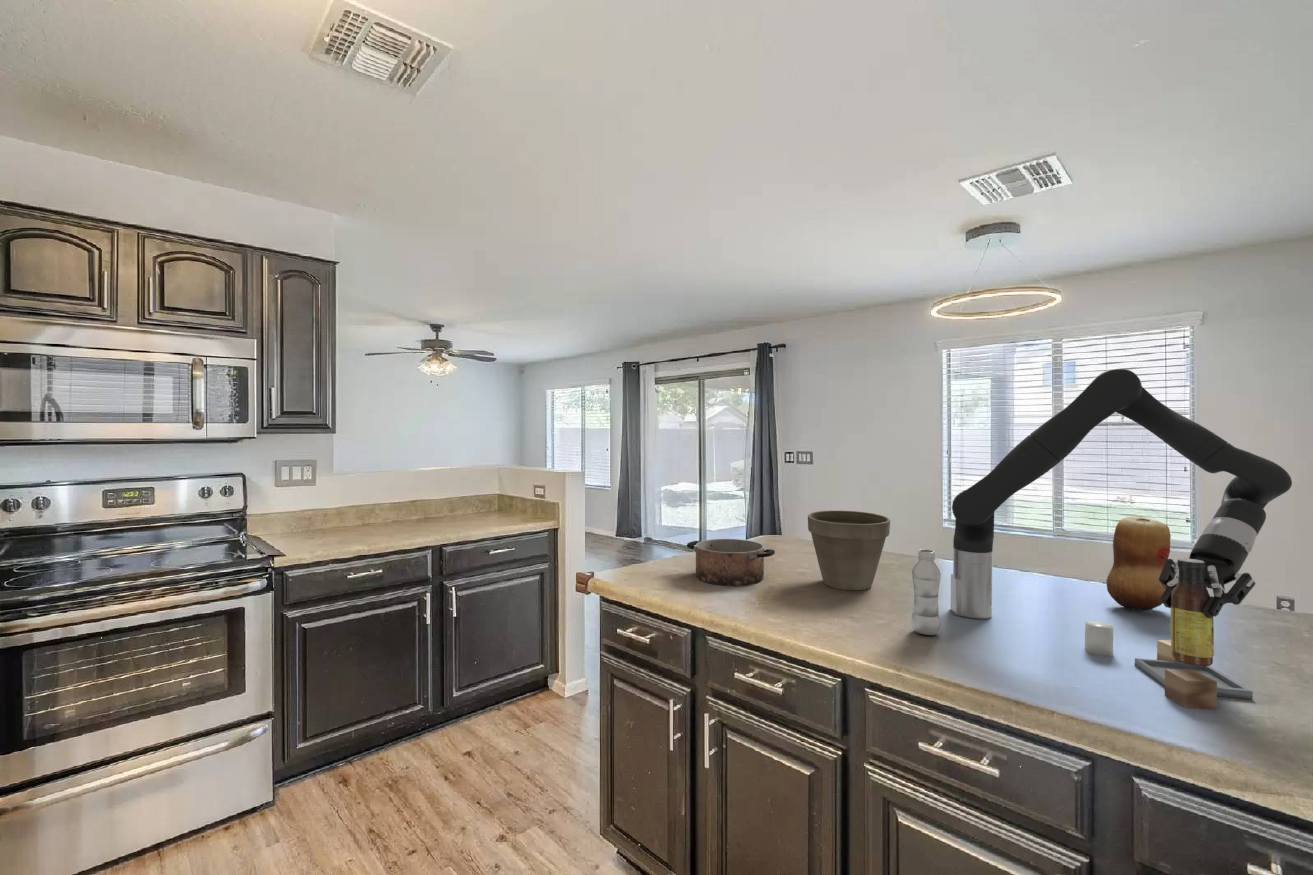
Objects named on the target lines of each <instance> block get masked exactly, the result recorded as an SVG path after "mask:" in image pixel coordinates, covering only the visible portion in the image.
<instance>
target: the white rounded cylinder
mask: <svg viewBox="0 0 1313 875" xmlns="http://www.w3.org/2000/svg"><path fill="white" fill-rule="evenodd" d="M1084 624H1085V625H1084V651H1085V650H1086V652H1087V653H1089V654H1092V655H1096V656H1100V657H1112V656H1113V655H1114V626H1113V625H1111V624H1109V623H1105V622H1101V621H1093V620H1092V621H1091V620H1088V621H1085V622H1084ZM1111 655H1112V656H1111Z"/></svg>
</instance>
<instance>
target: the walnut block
mask: <svg viewBox="0 0 1313 875" xmlns="http://www.w3.org/2000/svg"><path fill="white" fill-rule="evenodd" d="M1164 696H1166V697H1167V698H1169V699H1170V700H1172V701H1174V702H1175V703H1177V704H1179V705H1181V706H1182V707H1183V708H1185V709H1199V710H1201V709H1202V710H1203V709H1204V710H1217V709H1218V708H1217V707H1218V706H1217V705H1218V703H1217V700H1218V696H1217V682H1216V681H1215V680H1213V679H1211V678H1209V677H1207V676H1205V675H1203V674H1201V673H1199V672H1197V671H1195V670H1178V669H1165V687H1164Z"/></svg>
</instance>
